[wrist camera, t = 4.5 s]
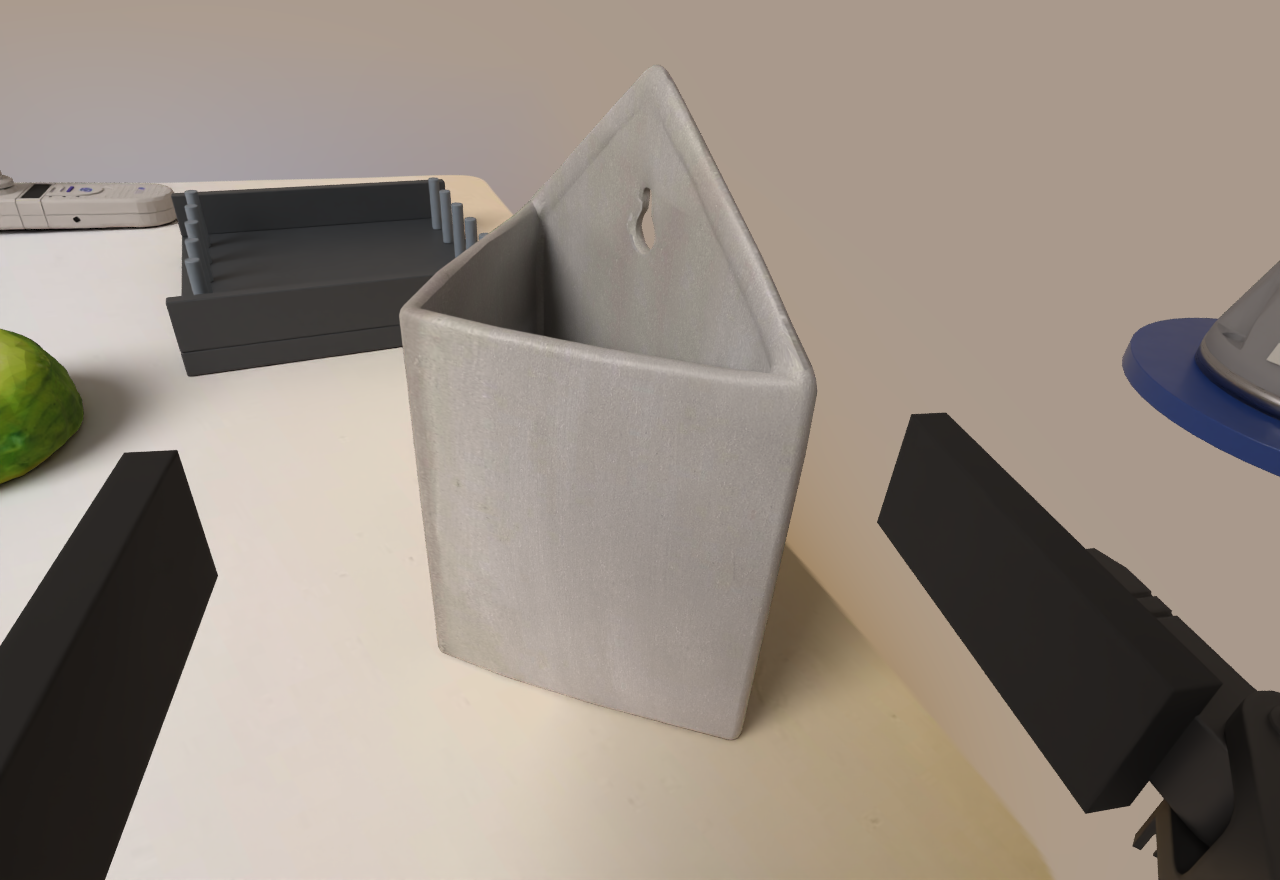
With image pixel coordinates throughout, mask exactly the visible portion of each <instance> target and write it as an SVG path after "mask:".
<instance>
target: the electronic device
mask: <svg viewBox="0 0 1280 880" xmlns="http://www.w3.org/2000/svg"><path fill="white" fill-rule="evenodd" d="M172 193H174V192H173V190H172V189H171V188H170V187H167V186H164V185H160V184H154V183H14V182H13V180H12V178H10V177H8V176H5V175H2V174H1V171H0V230H9V229H50V228H51V229H57V228H58V229H59V228H106V227H149V226H158V225H162V224H166V223H170V222H172V221H174V220H176V218H177V217H176V213H175V210H174V206H173V202H172V199H171V194H172Z"/></svg>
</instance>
